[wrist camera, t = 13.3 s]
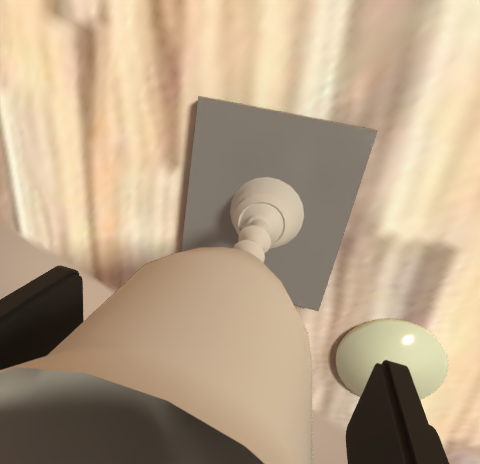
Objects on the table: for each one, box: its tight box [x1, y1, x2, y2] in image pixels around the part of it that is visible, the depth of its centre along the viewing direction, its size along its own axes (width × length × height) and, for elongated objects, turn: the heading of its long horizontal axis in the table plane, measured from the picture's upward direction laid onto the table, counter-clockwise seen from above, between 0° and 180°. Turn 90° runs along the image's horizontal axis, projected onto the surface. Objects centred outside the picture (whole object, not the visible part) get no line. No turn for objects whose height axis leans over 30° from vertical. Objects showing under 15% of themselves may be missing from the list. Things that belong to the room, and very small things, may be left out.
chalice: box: [0, 177, 312, 464], centre depth 14 cm, size 7×7×18 cm
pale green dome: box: [336, 318, 448, 400], centre depth 25 cm, size 8×8×1 cm
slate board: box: [181, 96, 378, 311], centre depth 22 cm, size 11×13×1 cm
